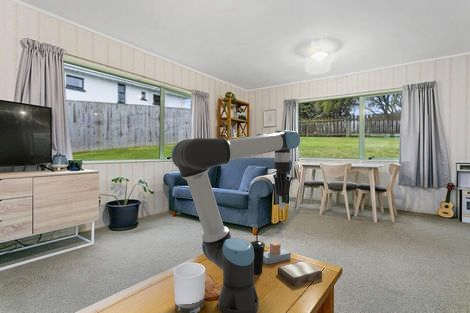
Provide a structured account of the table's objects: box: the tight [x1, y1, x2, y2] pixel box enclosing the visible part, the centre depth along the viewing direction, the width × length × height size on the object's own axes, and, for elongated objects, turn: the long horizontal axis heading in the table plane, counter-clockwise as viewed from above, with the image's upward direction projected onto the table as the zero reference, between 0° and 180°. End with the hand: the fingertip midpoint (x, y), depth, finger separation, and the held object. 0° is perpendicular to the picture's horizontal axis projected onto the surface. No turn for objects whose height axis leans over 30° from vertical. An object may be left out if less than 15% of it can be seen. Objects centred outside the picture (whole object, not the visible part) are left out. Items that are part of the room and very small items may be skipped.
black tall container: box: [249, 230, 266, 276], centre depth 116 cm, size 8×8×20 cm
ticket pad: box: [277, 259, 323, 287], centre depth 113 cm, size 16×12×4 cm
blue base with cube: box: [263, 241, 292, 265], centre depth 130 cm, size 15×7×8 cm, turn 115°
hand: (282, 208), depth 121 cm, fingers closed
